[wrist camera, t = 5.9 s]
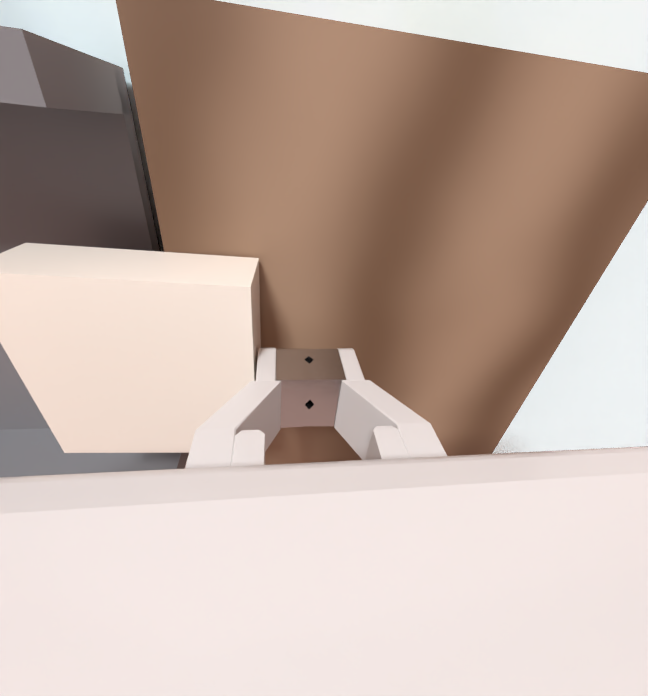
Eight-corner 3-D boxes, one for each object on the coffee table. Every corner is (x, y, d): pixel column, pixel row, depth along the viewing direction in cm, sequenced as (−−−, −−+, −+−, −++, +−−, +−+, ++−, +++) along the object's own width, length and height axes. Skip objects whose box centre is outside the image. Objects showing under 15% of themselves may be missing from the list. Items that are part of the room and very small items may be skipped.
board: (629, 93, 10) (718, 85, 8) (459, 433, 19) (481, 470, 17) (155, 20, 8) (112, -17, 6) (217, 441, 17) (209, 484, 15)
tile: (258, 257, 9) (250, 286, 7) (262, 409, 12) (257, 452, 11) (25, 242, 8) (-42, 270, 7) (97, 407, 12) (64, 452, 10)
